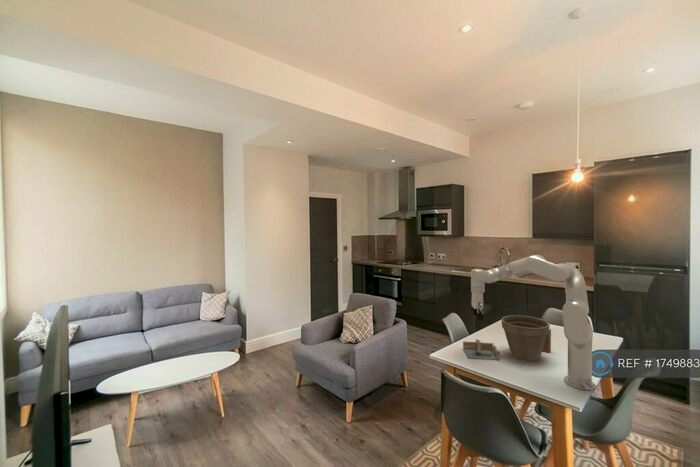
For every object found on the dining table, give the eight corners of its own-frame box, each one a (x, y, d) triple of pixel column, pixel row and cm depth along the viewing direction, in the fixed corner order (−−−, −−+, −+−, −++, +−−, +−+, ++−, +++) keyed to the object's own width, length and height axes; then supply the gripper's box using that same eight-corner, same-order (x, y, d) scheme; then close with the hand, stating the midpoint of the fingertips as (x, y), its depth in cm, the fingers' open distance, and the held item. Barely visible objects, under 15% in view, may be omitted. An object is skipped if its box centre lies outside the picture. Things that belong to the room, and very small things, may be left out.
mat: (500, 360, 177) (500, 359, 177) (467, 358, 180) (467, 357, 180) (493, 350, 191) (493, 349, 191) (463, 349, 194) (463, 348, 194)
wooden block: (548, 353, 187) (548, 324, 186) (530, 347, 195) (530, 319, 195) (551, 351, 189) (551, 323, 188) (532, 346, 198) (532, 318, 197)
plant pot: (510, 364, 171) (510, 326, 171) (495, 347, 196) (495, 314, 195) (558, 367, 168) (558, 328, 167) (537, 349, 192) (537, 315, 192)
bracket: (477, 355, 182) (477, 342, 182) (475, 352, 187) (475, 339, 187) (491, 356, 181) (491, 343, 181) (489, 353, 186) (489, 340, 186)
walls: (500, 360, 177) (500, 351, 177) (467, 358, 180) (467, 350, 180) (493, 350, 191) (493, 342, 191) (463, 349, 194) (463, 341, 194)
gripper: (468, 286, 193) (468, 313, 194) (474, 292, 176) (474, 321, 176) (480, 286, 192) (480, 313, 192) (488, 292, 175) (488, 321, 175)
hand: (477, 317), depth 184 cm, fingers open, 9 cm apart
